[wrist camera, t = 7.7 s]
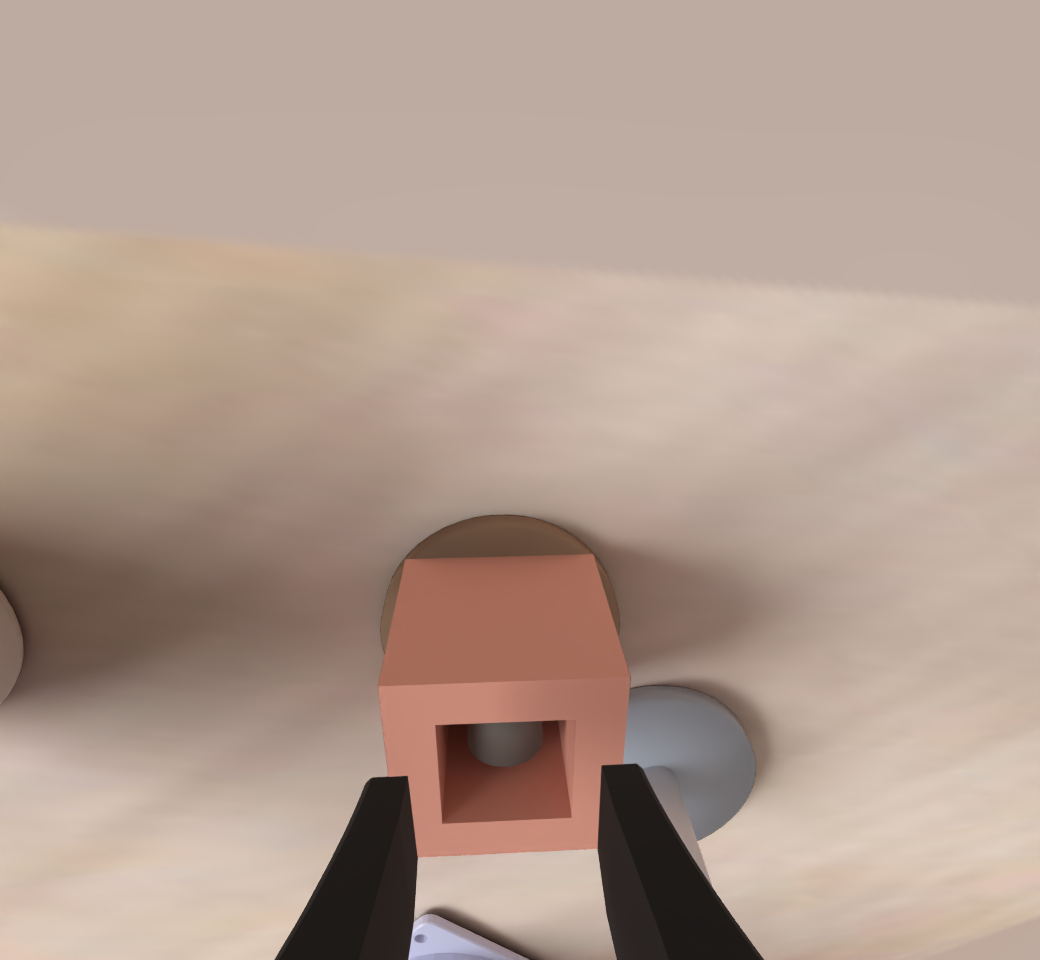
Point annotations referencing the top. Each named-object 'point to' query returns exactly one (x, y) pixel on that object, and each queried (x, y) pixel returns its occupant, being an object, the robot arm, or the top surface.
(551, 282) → the top surface
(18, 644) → the coffee cup
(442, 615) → the salmon square tube
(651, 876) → the robot arm
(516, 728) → the hub
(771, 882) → the top surface
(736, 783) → the stand
